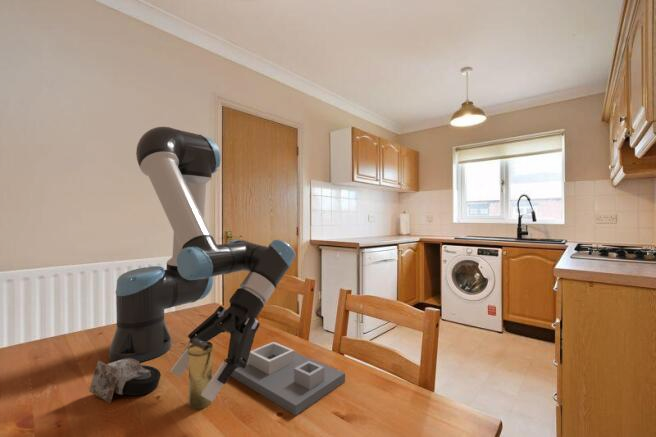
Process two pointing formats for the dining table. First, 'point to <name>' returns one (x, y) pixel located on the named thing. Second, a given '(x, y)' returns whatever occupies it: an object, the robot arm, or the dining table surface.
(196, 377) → the amber translucent cylinder
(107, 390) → the caster wheel
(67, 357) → the dining table surface
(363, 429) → the dining table surface
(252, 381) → the board
